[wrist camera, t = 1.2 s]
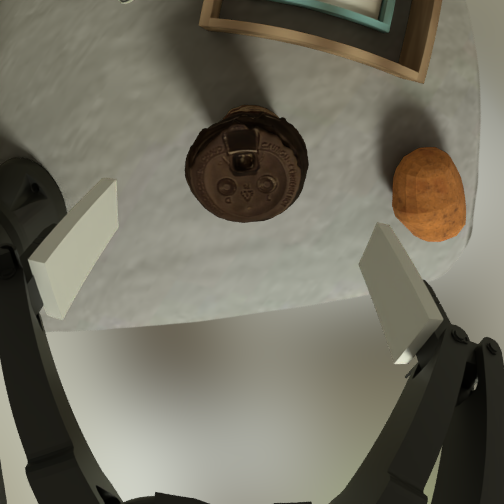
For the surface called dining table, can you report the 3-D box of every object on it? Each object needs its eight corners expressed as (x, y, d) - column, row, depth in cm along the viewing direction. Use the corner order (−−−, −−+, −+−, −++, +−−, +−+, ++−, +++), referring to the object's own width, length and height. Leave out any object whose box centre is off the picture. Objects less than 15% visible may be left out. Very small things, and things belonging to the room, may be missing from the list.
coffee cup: (241, 75, 26) (229, 86, 16) (309, 121, 29) (340, 163, 18) (194, 144, 30) (160, 197, 20) (260, 184, 33) (261, 255, 23)
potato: (389, 230, 36) (411, 267, 30) (372, 149, 30) (398, 174, 24) (449, 209, 34) (477, 241, 28) (440, 129, 28) (477, 150, 22)
